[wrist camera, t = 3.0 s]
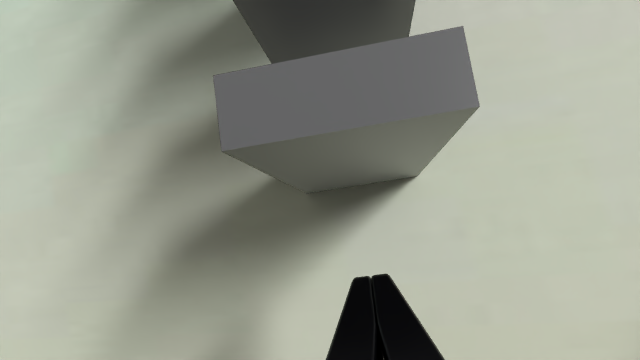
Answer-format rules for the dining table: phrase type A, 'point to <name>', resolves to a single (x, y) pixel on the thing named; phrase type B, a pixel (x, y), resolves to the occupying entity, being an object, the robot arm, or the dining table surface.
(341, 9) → the domino
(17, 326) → the dining table surface
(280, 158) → the domino
